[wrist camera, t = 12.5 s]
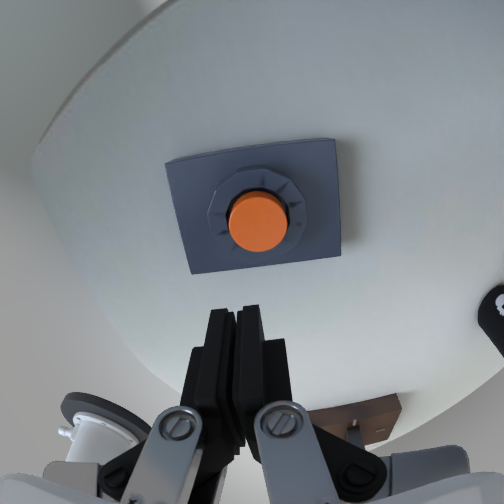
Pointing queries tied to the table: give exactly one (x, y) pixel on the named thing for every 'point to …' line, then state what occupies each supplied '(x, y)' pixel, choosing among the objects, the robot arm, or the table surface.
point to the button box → (258, 179)
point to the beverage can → (493, 317)
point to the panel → (360, 418)
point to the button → (257, 221)
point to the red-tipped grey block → (355, 437)
